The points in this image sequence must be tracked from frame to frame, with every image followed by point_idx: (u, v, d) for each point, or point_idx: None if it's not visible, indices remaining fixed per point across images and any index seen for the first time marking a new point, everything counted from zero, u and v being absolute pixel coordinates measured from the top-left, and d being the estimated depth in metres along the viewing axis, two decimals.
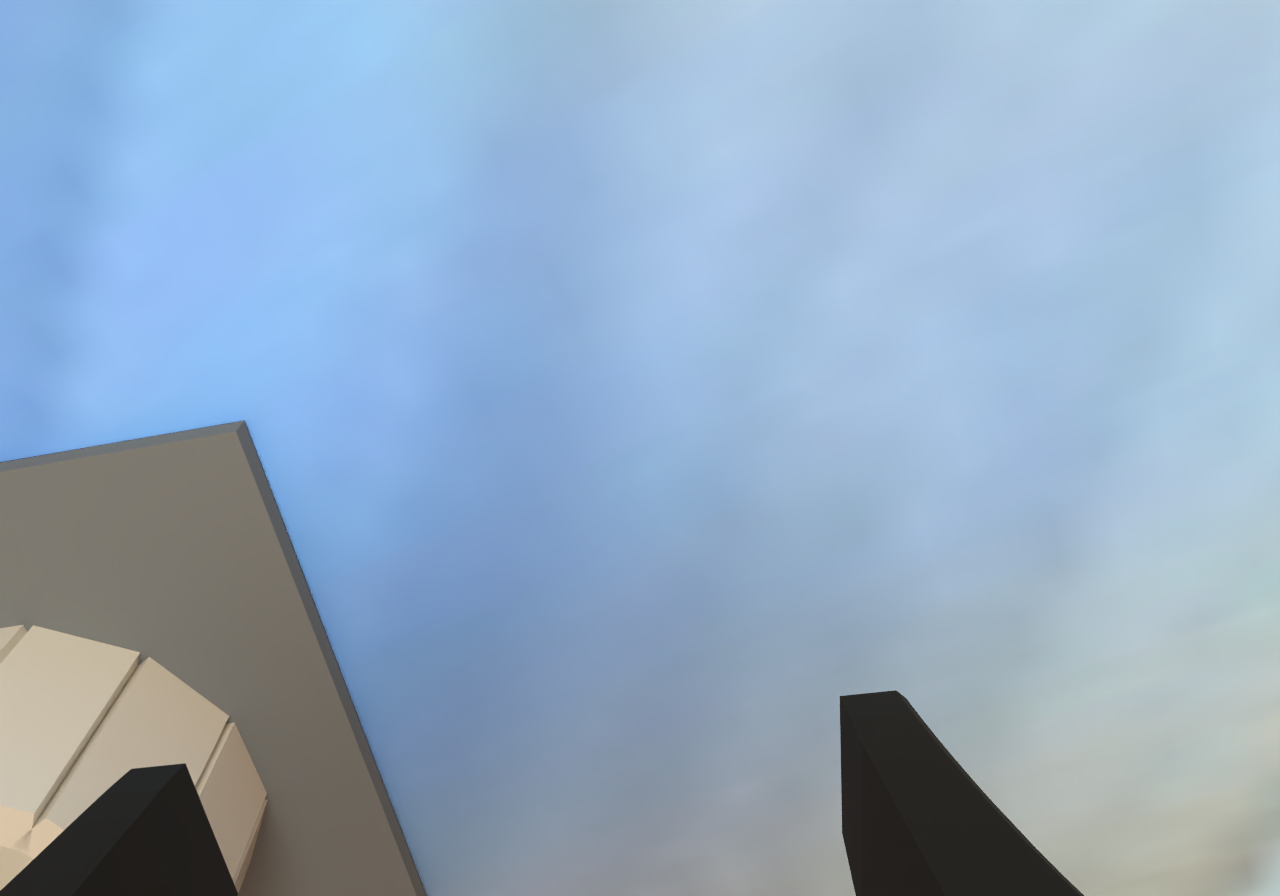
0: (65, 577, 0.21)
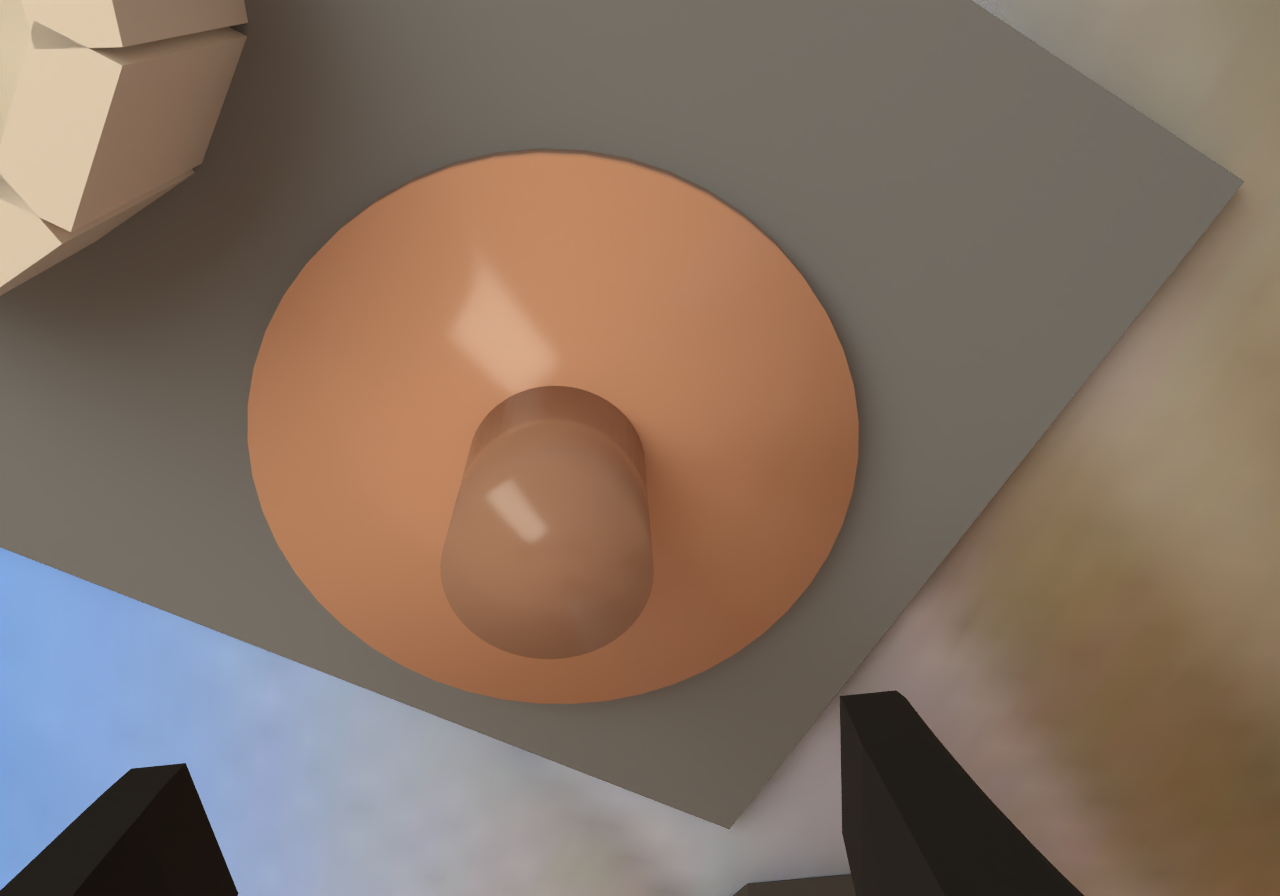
0: None
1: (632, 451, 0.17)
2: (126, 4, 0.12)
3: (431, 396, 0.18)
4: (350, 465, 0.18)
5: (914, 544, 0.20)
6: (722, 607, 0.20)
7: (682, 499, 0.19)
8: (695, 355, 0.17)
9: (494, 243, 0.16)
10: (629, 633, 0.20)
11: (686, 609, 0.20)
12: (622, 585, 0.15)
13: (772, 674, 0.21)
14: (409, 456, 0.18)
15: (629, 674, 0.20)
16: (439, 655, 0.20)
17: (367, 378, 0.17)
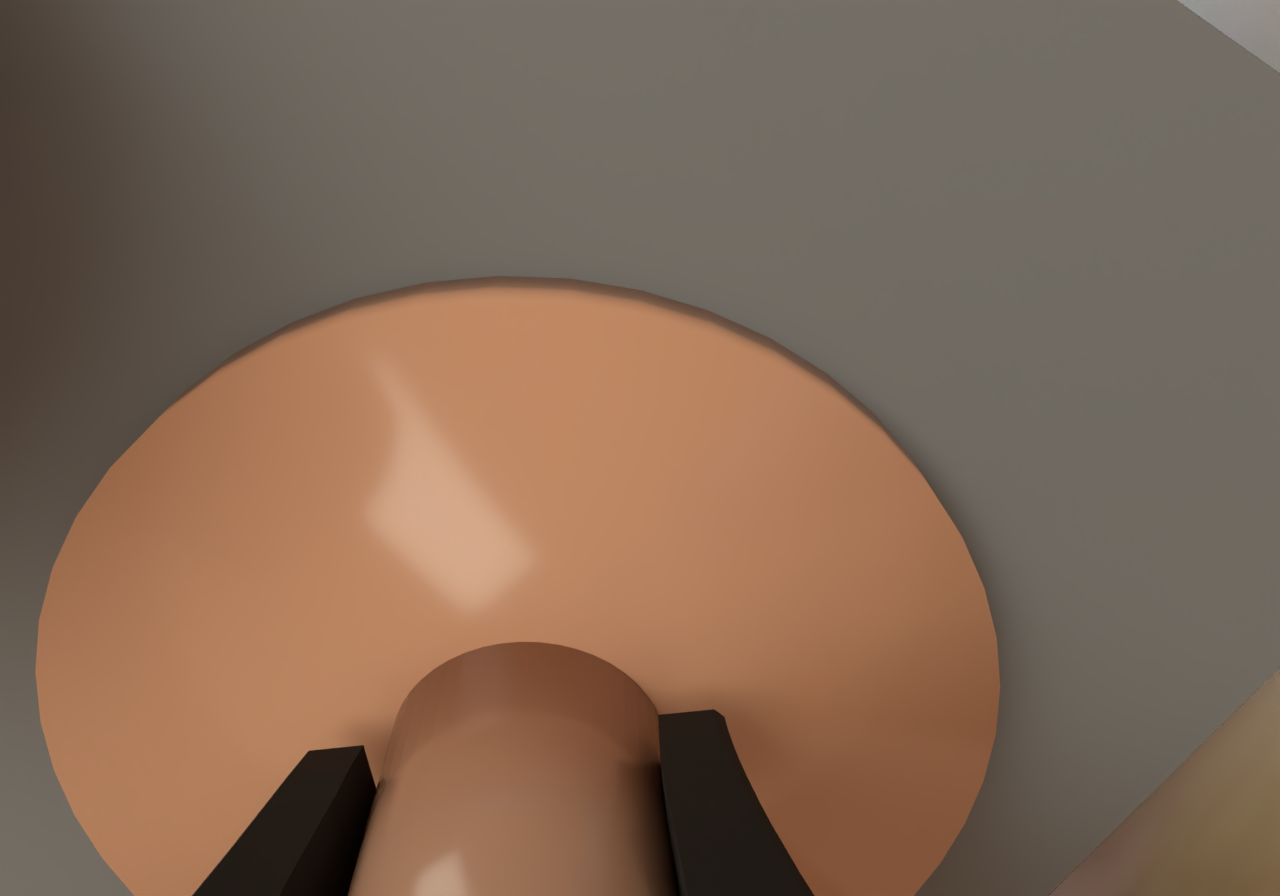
0: None
1: (648, 765, 0.10)
2: None
3: (327, 659, 0.11)
4: (206, 755, 0.12)
5: (1059, 825, 0.14)
6: None
7: None
8: (748, 597, 0.11)
9: (419, 435, 0.10)
10: None
11: None
12: None
13: None
14: (298, 741, 0.12)
15: None
16: None
17: (223, 633, 0.11)
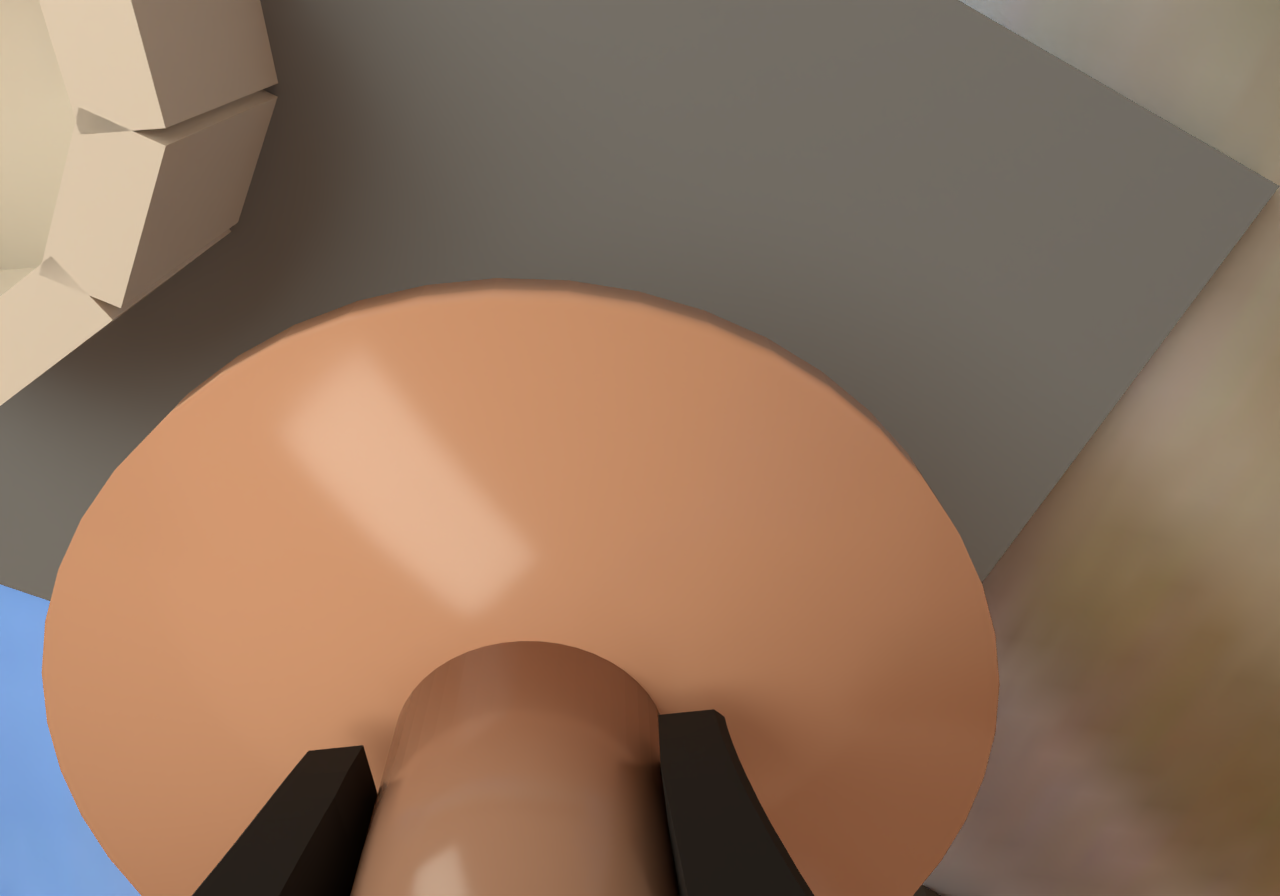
0: None
1: (648, 763, 0.10)
2: (166, 85, 0.12)
3: (330, 658, 0.11)
4: (212, 754, 0.12)
5: None
6: None
7: None
8: (747, 595, 0.11)
9: (420, 436, 0.10)
10: None
11: None
12: None
13: None
14: (302, 740, 0.12)
15: None
16: None
17: (227, 634, 0.11)
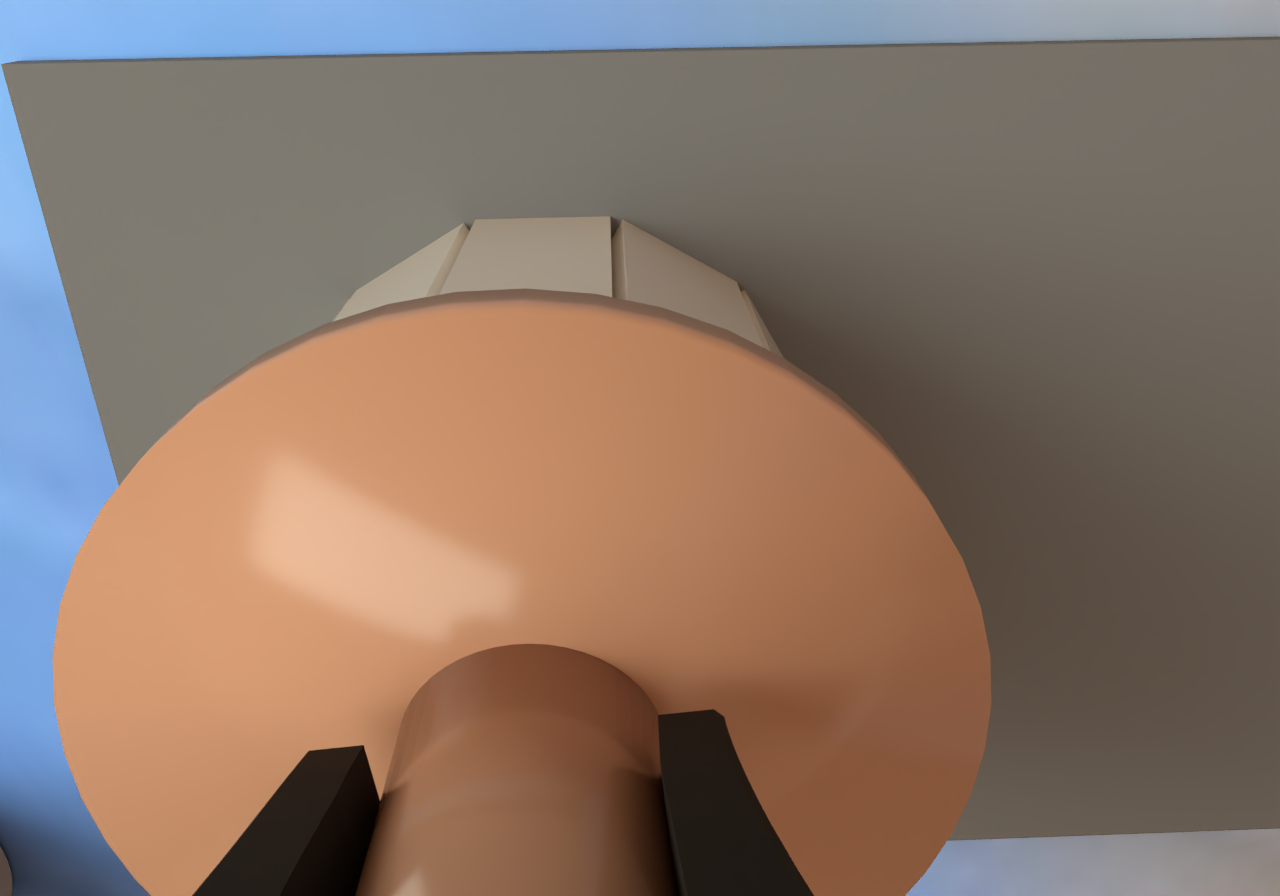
0: (230, 344, 0.17)
1: (641, 755, 0.11)
2: None
3: (328, 673, 0.11)
4: (224, 774, 0.12)
5: None
6: None
7: None
8: (729, 585, 0.11)
9: (392, 452, 0.10)
10: None
11: None
12: None
13: None
14: None
15: None
16: None
17: (227, 656, 0.11)
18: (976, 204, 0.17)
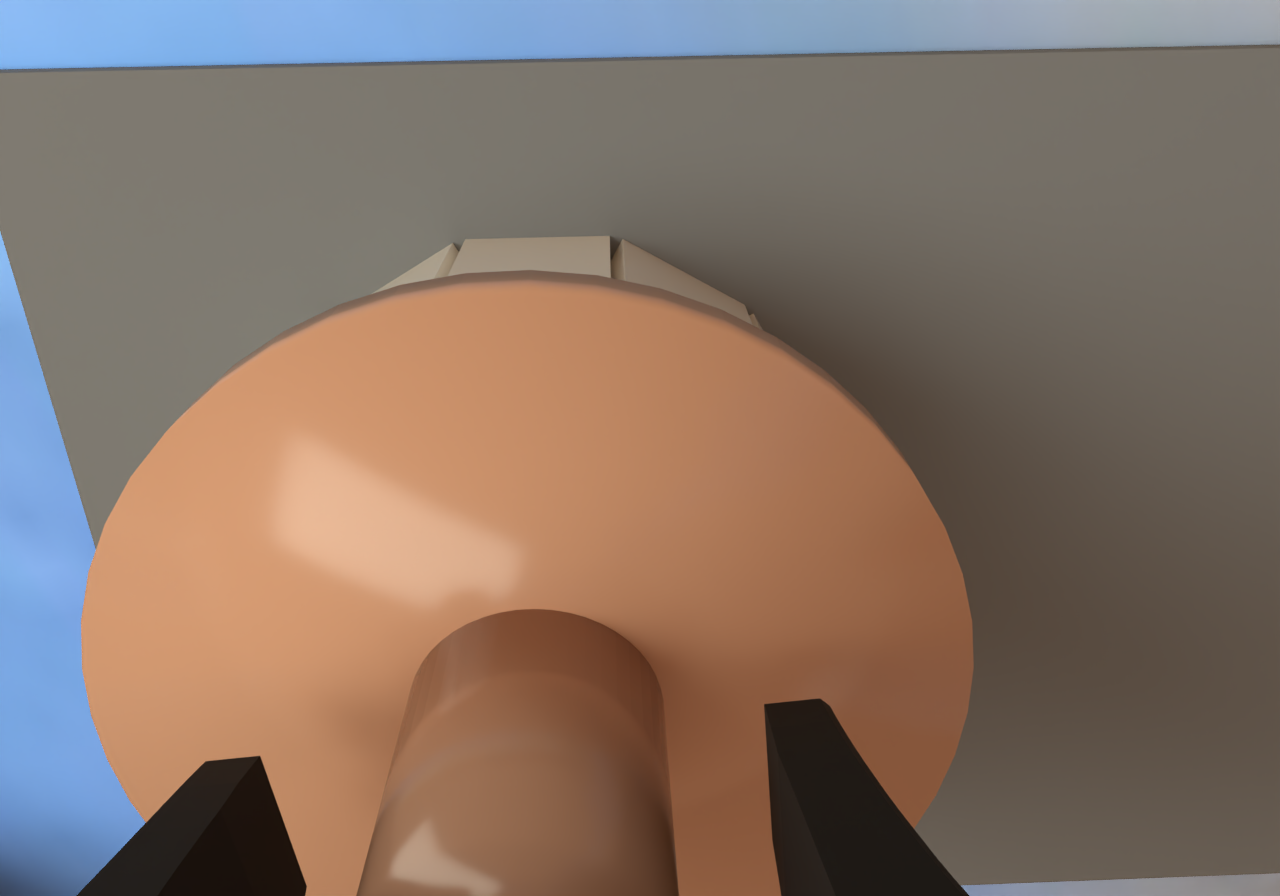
0: (204, 371, 0.16)
1: (639, 713, 0.11)
2: None
3: (343, 638, 0.12)
4: (243, 735, 0.13)
5: None
6: None
7: (721, 740, 0.13)
8: (723, 552, 0.12)
9: (405, 424, 0.11)
10: None
11: (740, 873, 0.14)
12: None
13: None
14: (324, 717, 0.13)
15: None
16: None
17: (246, 621, 0.12)
18: (1001, 223, 0.15)
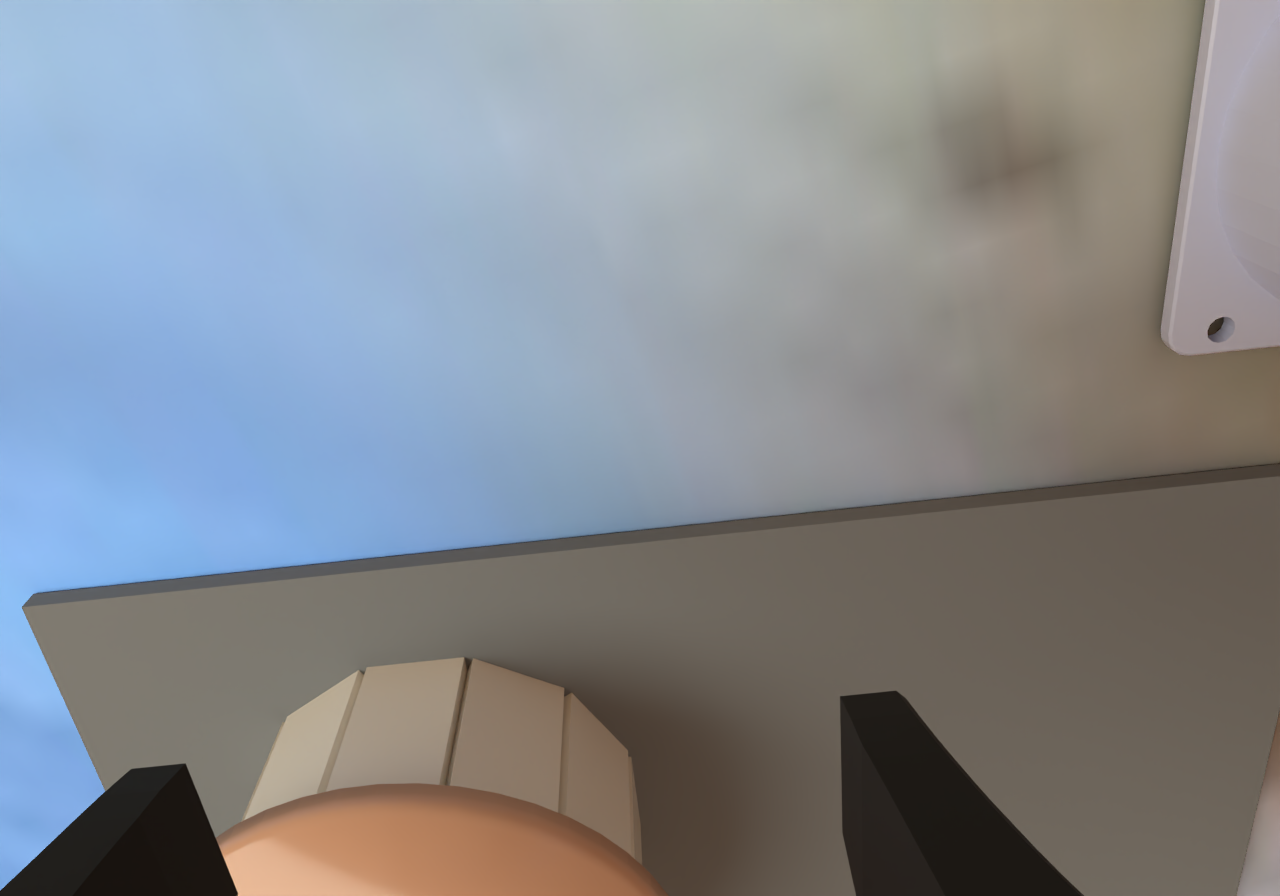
0: (201, 755, 0.23)
1: None
2: None
3: None
4: None
5: (1234, 778, 0.25)
6: None
7: None
8: None
9: (309, 884, 0.18)
10: None
11: None
12: None
13: (1179, 895, 0.27)
14: None
15: None
16: None
17: None
18: (732, 627, 0.22)
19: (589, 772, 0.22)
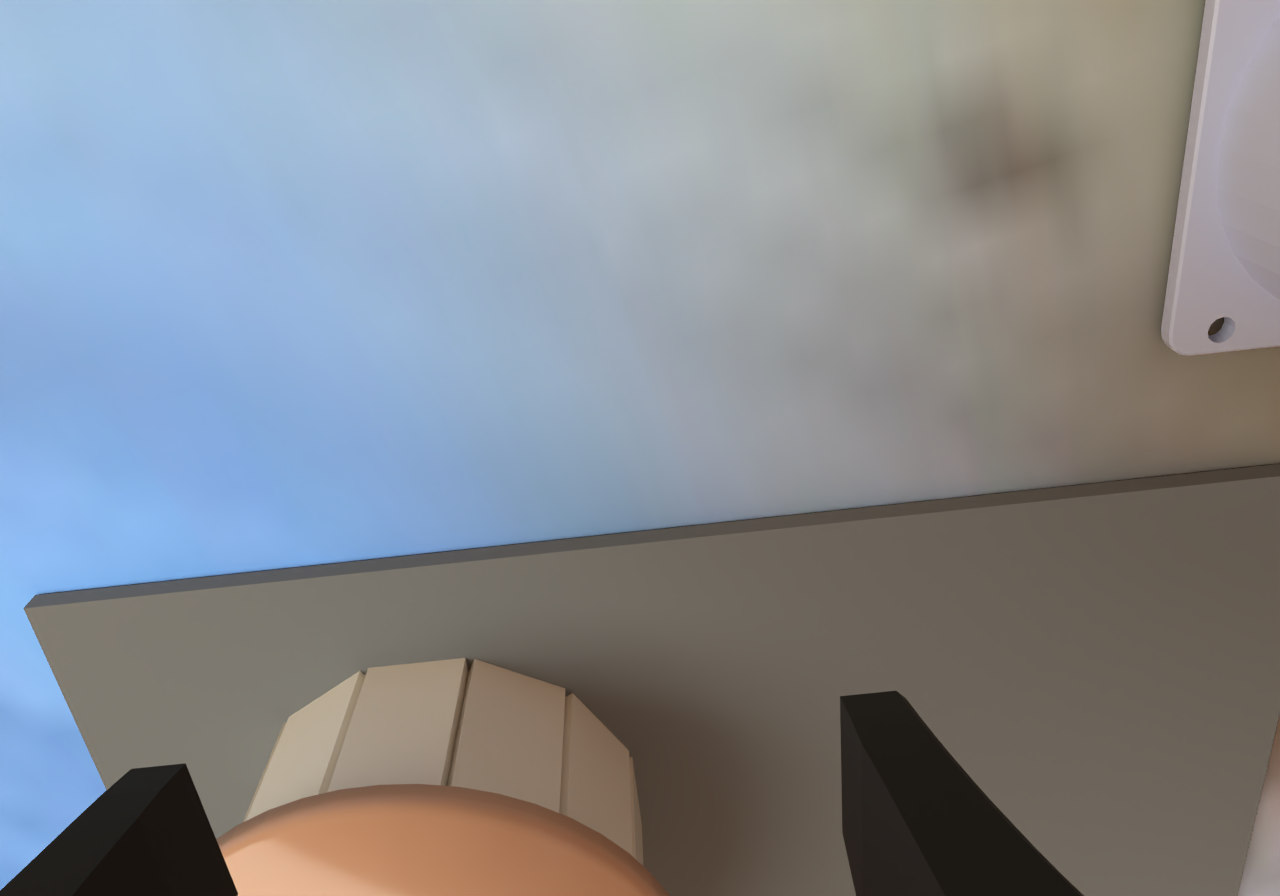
0: (203, 756, 0.23)
1: None
2: None
3: None
4: None
5: (1235, 778, 0.25)
6: None
7: None
8: None
9: (311, 884, 0.18)
10: None
11: None
12: None
13: (1180, 895, 0.27)
14: None
15: None
16: None
17: None
18: (732, 628, 0.22)
19: (590, 772, 0.22)
